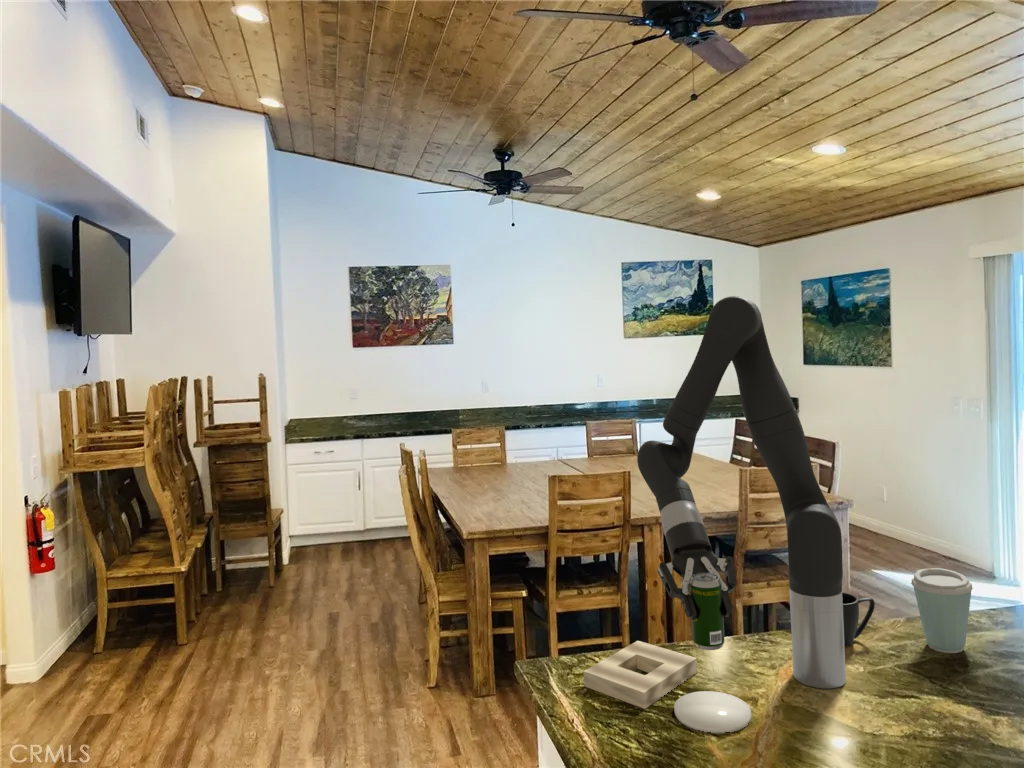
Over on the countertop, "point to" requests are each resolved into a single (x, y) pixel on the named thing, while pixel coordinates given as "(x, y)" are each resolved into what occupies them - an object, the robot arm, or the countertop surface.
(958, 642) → the disposable coffee cup
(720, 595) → the beer can
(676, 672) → the beige rectangular frame
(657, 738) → the countertop surface
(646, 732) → the countertop surface
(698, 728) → the white round disc
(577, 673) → the countertop surface
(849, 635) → the mug
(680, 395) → the robot arm
